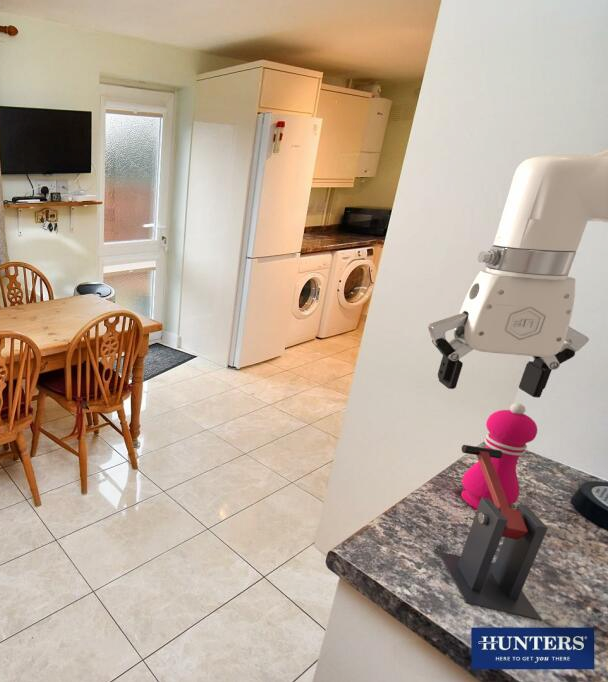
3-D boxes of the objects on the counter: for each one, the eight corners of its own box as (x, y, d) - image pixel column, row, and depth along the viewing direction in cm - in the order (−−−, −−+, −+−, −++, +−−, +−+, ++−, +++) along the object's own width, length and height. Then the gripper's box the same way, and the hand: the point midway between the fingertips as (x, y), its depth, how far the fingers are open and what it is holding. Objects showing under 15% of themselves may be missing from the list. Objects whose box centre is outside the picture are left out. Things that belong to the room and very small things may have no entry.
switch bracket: (436, 557, 66) (460, 484, 62) (501, 571, 63) (530, 496, 59) (463, 608, 58) (493, 528, 54) (539, 626, 55) (576, 544, 51)
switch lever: (458, 450, 66) (465, 440, 65) (494, 455, 65) (503, 446, 64) (486, 533, 57) (495, 525, 56) (529, 542, 56) (539, 534, 55)
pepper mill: (445, 500, 78) (479, 397, 72) (472, 491, 81) (506, 391, 74) (492, 527, 72) (533, 417, 66) (519, 517, 74) (562, 410, 68)
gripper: (464, 263, 53) (427, 393, 59) (641, 271, 50) (585, 409, 55) (434, 255, 60) (404, 372, 66) (588, 262, 57) (542, 385, 62)
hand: (486, 389), depth 60 cm, fingers open, 9 cm apart
